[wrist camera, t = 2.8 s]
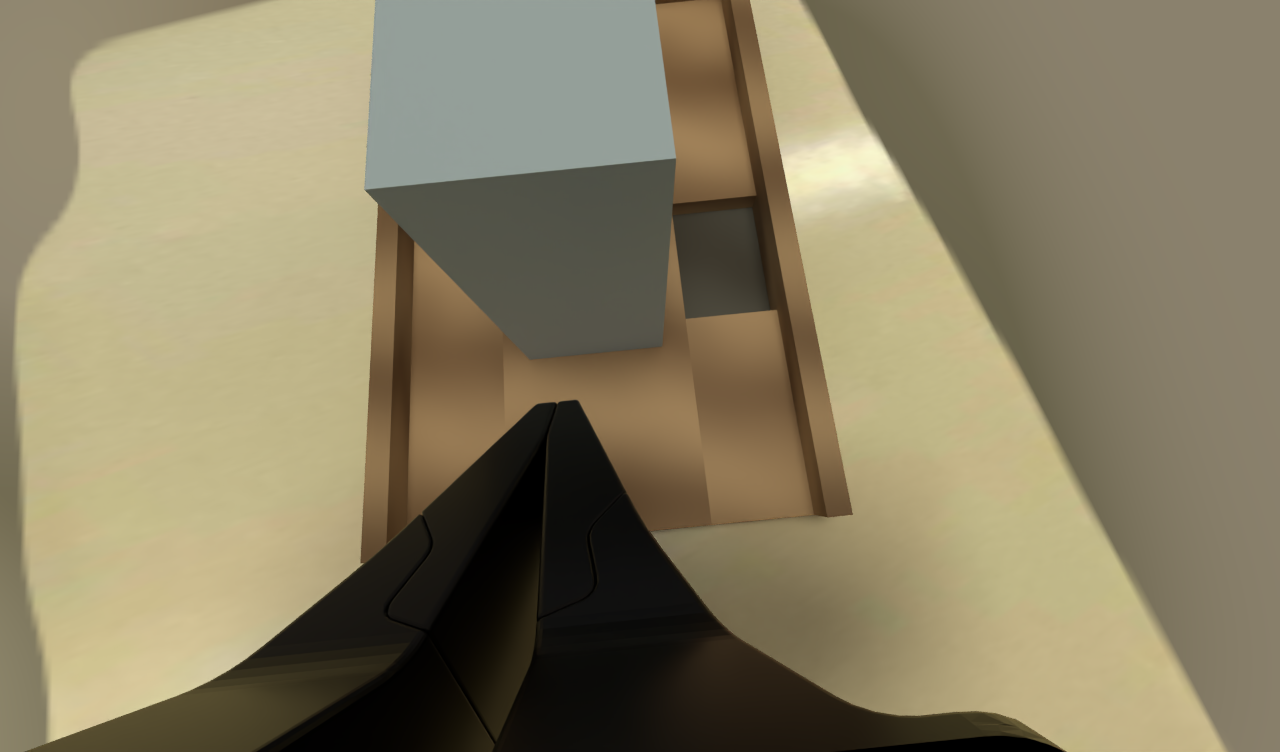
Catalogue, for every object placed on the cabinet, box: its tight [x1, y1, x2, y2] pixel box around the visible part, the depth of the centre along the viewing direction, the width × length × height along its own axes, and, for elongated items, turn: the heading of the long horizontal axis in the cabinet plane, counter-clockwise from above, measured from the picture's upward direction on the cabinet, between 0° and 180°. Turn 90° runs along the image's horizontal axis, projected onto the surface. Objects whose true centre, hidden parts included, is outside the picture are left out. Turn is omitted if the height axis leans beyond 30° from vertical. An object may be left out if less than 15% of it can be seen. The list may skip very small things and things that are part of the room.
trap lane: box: [361, 0, 853, 563], centre depth 17 cm, size 24×16×4 cm, turn 5°
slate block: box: [364, 0, 676, 360], centre depth 13 cm, size 8×5×10 cm, turn 5°
